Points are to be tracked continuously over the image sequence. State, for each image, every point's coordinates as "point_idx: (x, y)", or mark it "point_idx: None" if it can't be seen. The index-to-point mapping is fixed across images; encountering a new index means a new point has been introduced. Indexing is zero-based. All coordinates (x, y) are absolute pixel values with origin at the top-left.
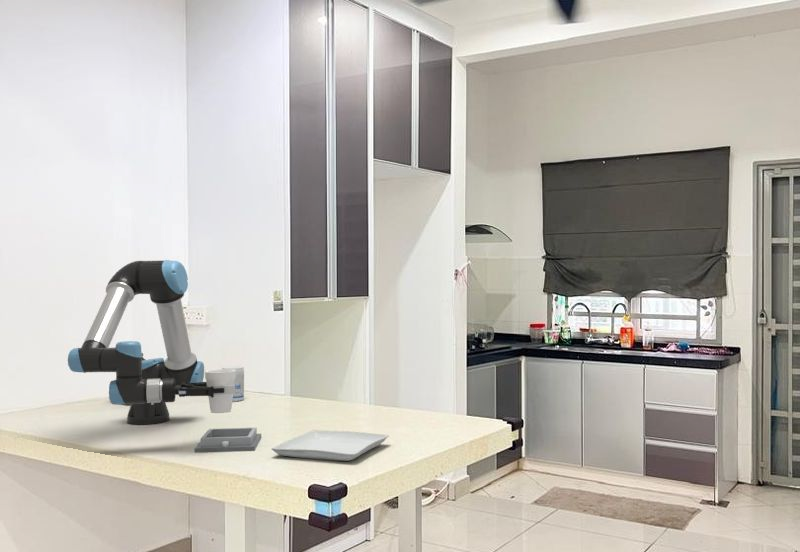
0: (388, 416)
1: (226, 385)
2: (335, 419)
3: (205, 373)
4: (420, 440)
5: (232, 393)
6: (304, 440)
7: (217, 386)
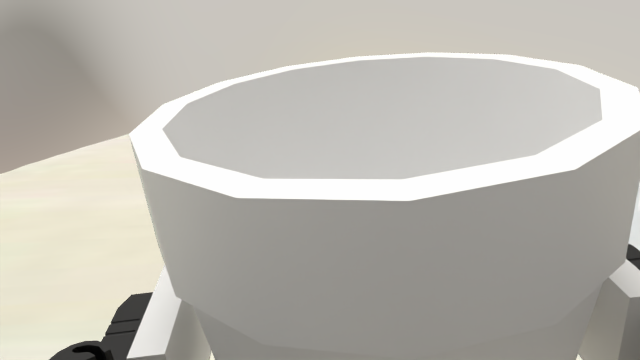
0: (98, 174)
1: None
2: (37, 242)
3: (467, 236)
4: None
5: None
6: None
7: (630, 267)
